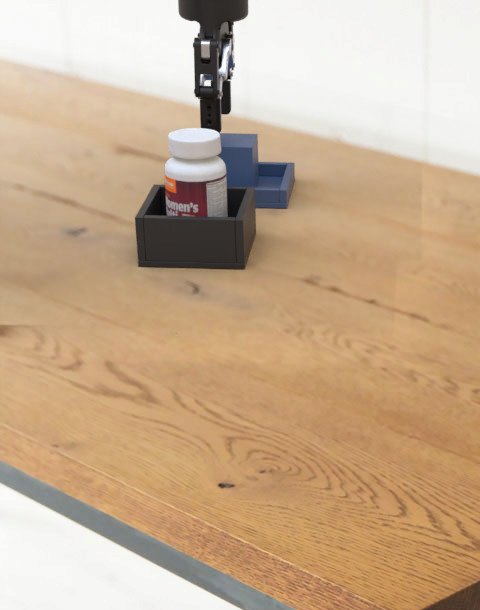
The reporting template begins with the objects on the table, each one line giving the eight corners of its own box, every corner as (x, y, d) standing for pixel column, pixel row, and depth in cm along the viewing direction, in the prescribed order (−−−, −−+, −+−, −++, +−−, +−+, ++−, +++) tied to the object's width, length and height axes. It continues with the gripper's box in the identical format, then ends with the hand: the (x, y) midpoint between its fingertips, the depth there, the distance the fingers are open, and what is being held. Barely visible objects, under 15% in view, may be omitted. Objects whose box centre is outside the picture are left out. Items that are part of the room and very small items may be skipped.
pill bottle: (156, 247, 137) (149, 137, 132) (191, 230, 142) (185, 122, 136) (206, 258, 134) (201, 146, 129) (240, 240, 139) (237, 131, 134)
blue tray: (165, 205, 151) (164, 187, 150) (180, 177, 160) (179, 159, 159) (286, 208, 150) (286, 190, 149) (294, 179, 159) (294, 162, 158)
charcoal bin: (138, 266, 134) (134, 217, 131) (156, 230, 143) (153, 184, 141) (244, 269, 134) (242, 219, 131) (256, 233, 143) (254, 186, 140)
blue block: (205, 194, 152) (202, 146, 150) (211, 179, 157) (209, 132, 155) (253, 195, 152) (252, 147, 150) (258, 180, 157) (257, 133, 154)
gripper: (187, -40, 150) (192, 106, 158) (166, -19, 137) (172, 139, 145) (254, -38, 150) (256, 109, 158) (239, -17, 137) (242, 141, 145)
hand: (216, 123), depth 151 cm, fingers open, 8 cm apart
